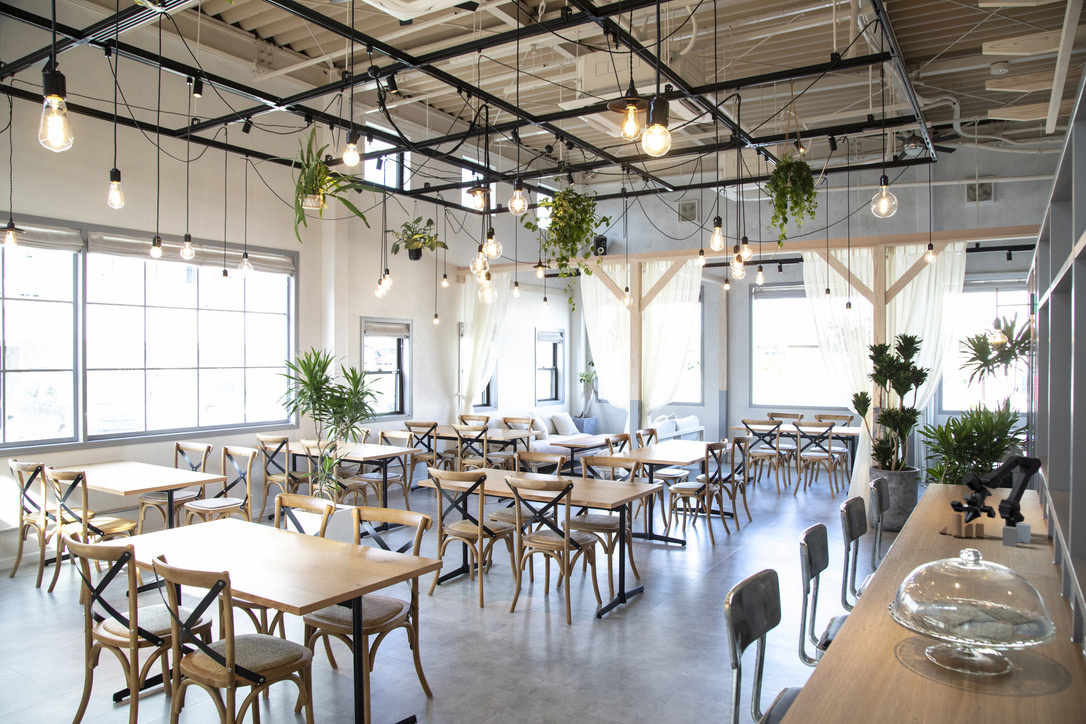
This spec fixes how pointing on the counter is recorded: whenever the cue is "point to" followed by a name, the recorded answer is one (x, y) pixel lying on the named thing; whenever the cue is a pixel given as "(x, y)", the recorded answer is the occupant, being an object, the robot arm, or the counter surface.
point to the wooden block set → (968, 529)
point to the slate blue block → (1023, 532)
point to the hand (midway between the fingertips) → (965, 522)
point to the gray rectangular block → (1010, 536)
